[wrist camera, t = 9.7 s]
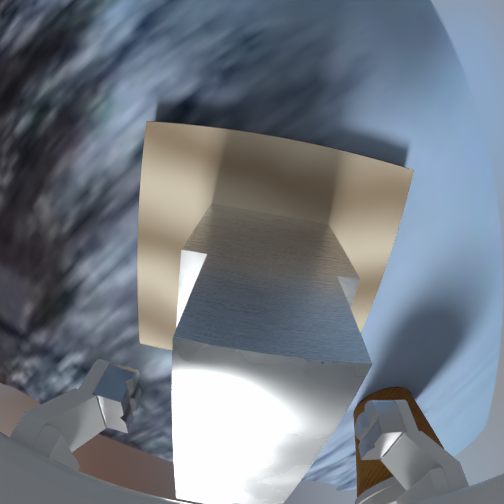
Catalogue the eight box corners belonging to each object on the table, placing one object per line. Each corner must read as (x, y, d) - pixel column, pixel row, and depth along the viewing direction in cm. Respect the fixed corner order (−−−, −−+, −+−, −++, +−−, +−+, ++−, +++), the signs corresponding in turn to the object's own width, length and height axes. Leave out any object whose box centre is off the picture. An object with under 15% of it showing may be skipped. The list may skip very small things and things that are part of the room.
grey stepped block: (211, 203, 18) (133, 328, 7) (329, 224, 18) (403, 365, 7) (195, 349, 22) (156, 493, 11) (288, 363, 23) (296, 511, 12)
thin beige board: (155, 121, 18) (106, 122, 12) (404, 166, 18) (457, 188, 12) (145, 331, 24) (117, 388, 18) (339, 361, 24) (354, 422, 18)
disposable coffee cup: (353, 443, 29) (369, 533, 18) (323, 402, 26) (339, 516, 15) (430, 409, 27) (464, 495, 16) (417, 359, 24) (467, 466, 13)
